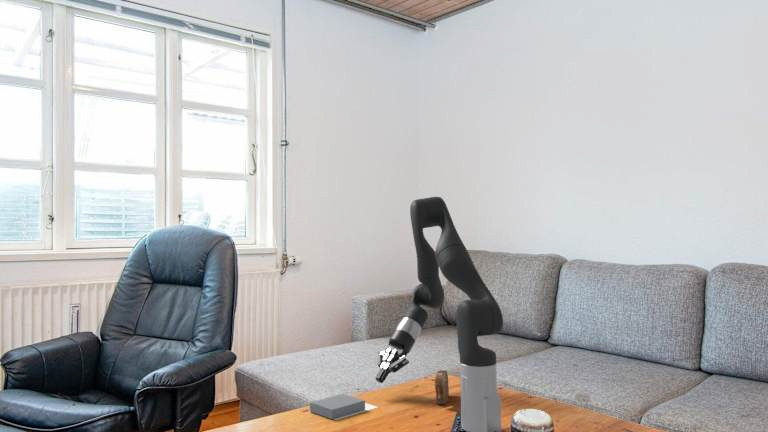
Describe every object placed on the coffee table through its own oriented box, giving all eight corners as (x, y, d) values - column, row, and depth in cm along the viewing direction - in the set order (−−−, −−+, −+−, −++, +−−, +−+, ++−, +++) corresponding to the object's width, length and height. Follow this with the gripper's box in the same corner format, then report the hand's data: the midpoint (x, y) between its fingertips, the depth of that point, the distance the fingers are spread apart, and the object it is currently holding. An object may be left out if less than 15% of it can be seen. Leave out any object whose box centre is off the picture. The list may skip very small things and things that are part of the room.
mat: (378, 409, 161) (378, 407, 161) (335, 422, 150) (335, 420, 150) (351, 401, 170) (351, 399, 170) (309, 412, 159) (309, 410, 159)
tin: (445, 408, 161) (444, 379, 161) (434, 408, 162) (433, 379, 162) (449, 394, 176) (448, 367, 176) (439, 394, 176) (439, 367, 177)
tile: (364, 400, 159) (332, 409, 151) (365, 409, 159) (332, 419, 150) (342, 393, 166) (310, 402, 158) (342, 402, 166) (310, 411, 158)
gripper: (384, 326, 182) (357, 370, 173) (415, 330, 172) (387, 377, 163) (396, 340, 185) (370, 384, 176) (426, 345, 176) (400, 392, 167)
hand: (378, 381), depth 170 cm, fingers closed
